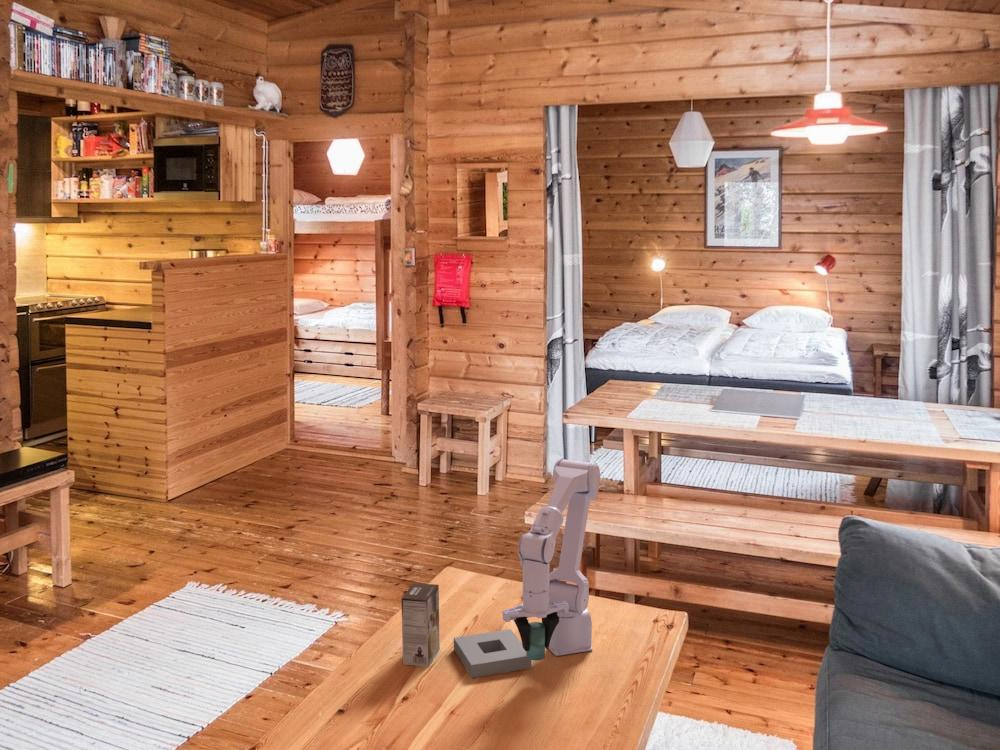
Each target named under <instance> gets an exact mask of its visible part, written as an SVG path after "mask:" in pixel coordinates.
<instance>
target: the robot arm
mask: <svg viewBox="0 0 1000 750" xmlns="http://www.w3.org/2000/svg"><path fill="white" fill-rule="evenodd" d="M552 479H553V485H554V486H553V488H552V491H551V494H550V497H549V500H548V502H547V505H546V506H544V507H541V508H540V509H539V511H538V513H537V514H536V517H535V519H534V521H533V523H532V525H531V527H530V530H529V531H528V532H527V533H525V534H524V533H523V534H522V535H521V537H520V539H519V541H518V548H517V555H518V558H519V564H520V568H522V604H520V605H516V606H514V607H511V608H508V609H503V610H502V620H503V621H504V622H505V623H510V622H511V621H513V622H514V624H515V626H516V627H517V630H518V634H519V636H520V639H521V640H520V641H521V643H522V645H523V648H524V650H525V651H529V633H530V628H531V625H530V624H529V623H530V622H529V619H528V618H535V617H536V618H538V619H541V623H543V624H544V625H545V649H547V648H548V649H549V651H550V652H551V653H552V654H553V655H554V656H556V657H560V656H565V655H566V656H567V655H570V654H577V653H584V652H589V651H593V647H592V637H593V636H592V629H593V628H592V625H593V623H592V617H591V614H590V611H589V609H588V606H589V605H588V604H589V598H590V592H589V589H590V588H589V587H590V584H589V583H590V581H589V579H588V578H587V577H586V576H585V575H584V574H583V573H582V572H581V570H580V568H581V567H580V566H581V561H582V553H583V549H584V548H583V547H584V540H585V535H586V527H587V521H588V516H589V515H588V514H589V509H590V505H591V501H593V500H595V499H597V498H598V493H599V488H600V482H601V470H600V466H599V465H598V463H597V462H589V461H579V460H571V459H564V458H559V459H557V460H556V461H555V463H554V466H553V471H552ZM565 508H567V511H566V518H565V525H564V530H563V536H562V541H561V543H562V544H561V549H560V556H559V561H558V562H559V563H558V567H557V568H556V569H554V570H552V571H551V572H550V568H551V567H550V562H551V561H552V559H553V557H554V554H555V548H556V543H557V540H556V538H557V536H558V534H559V532H560V530H561V527H562V525H563V523H564V516H563V512H564V510H565ZM561 581H565V582H561ZM566 582H567V583H566ZM568 582H569V583H568ZM572 583H574V584H572Z"/></svg>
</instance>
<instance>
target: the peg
mask: <svg viewBox="0 0 1000 750" xmlns="http://www.w3.org/2000/svg"><path fill="white" fill-rule="evenodd" d="M528 623H529V624H530V625H531V628H530V633H529V651H527V658H528V659H530V660H532V661H537V662H538V661H542V660H544V659H545V657H546V647H545V625H544V624H543V623H542V622H539V621H532V622H528Z"/></svg>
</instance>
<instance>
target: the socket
mask: <svg viewBox="0 0 1000 750" xmlns="http://www.w3.org/2000/svg"><path fill="white" fill-rule="evenodd" d="M453 651H454V652H455V654H456V655H457V657H458V659H459V660H460V662H461V663H462V665H463V666H464V668H465V670H466V671H467V673H468V674H469V676H470V678H471V679H472V678H473V679H474V678H478V677H479V678H480V677H486V676H492V675H497V674H503V673H509V672H514V671H520V670H521V671H522V670H526V669H532V664H533V663H532V661H533V660H530V659H528V658H527V651H525V650H524V648H523V645H522V641H521V640H520V639H519V637H517V636H516V634H515V633H514V631H513V630H512V629H511V628H510V629H502V630H496V631H490V632H483V633H477V634H469V635H463V636H457V637H453Z"/></svg>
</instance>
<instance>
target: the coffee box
mask: <svg viewBox="0 0 1000 750" xmlns="http://www.w3.org/2000/svg"><path fill="white" fill-rule="evenodd" d="M439 586H440V584H434V583H433V584H431V583H430V584H429V583H415V582H413V583H412V584H411V585H410V586H409V587H408V589H407V591H406V592H405V593H404V594H403V596H402V597H401V598H400V600H401V632H402V633H401V635H402V637H401V638H402V641H401V642H402V664H403V665H404V664H405V665H406V666H414V665H415V667H426V668H429V667H430V665H431V664H432V662H433V661H434V659H435V658H436V655H437V654H438V652H439V651H440V649H441V648H440V597H439V595H440V594H439V591H440V589H439ZM405 665H404V666H405Z"/></svg>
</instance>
